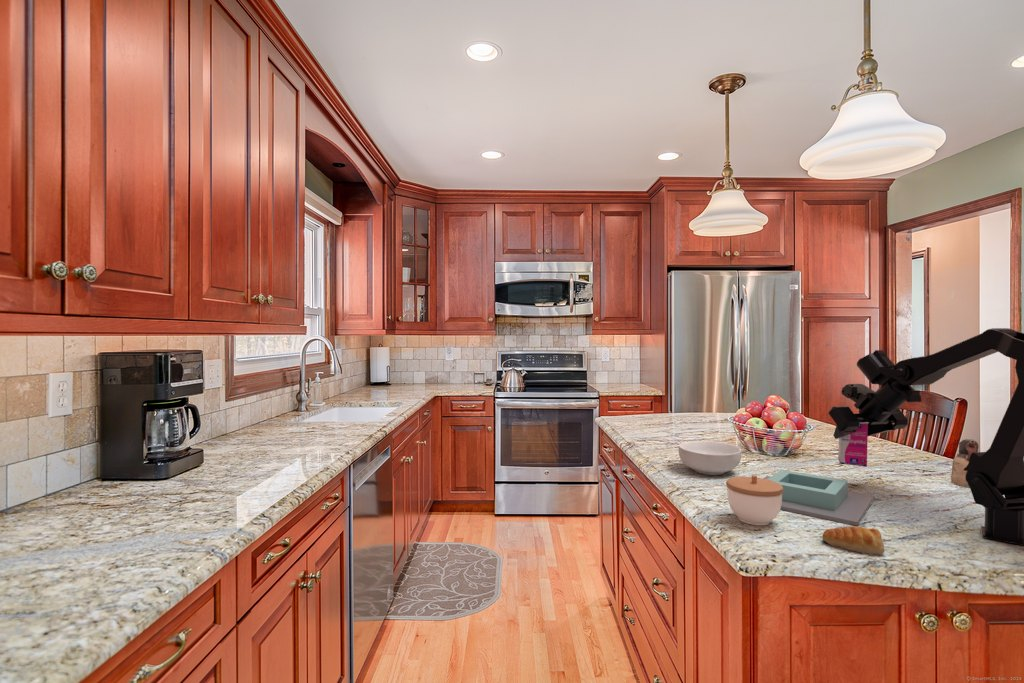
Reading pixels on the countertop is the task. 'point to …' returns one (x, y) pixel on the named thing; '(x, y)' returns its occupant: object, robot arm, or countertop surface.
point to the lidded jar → (754, 499)
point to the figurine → (963, 461)
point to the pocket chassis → (821, 497)
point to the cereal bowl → (710, 456)
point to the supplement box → (854, 447)
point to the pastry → (855, 539)
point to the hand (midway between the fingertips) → (848, 436)
